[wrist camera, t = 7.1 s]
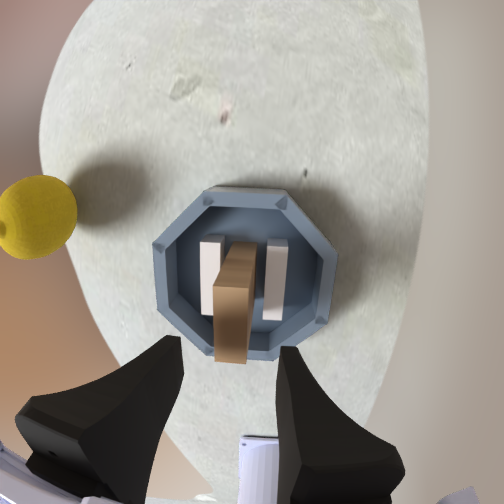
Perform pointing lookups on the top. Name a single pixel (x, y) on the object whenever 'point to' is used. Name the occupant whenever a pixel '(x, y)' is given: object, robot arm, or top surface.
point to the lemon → (36, 216)
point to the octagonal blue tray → (267, 268)
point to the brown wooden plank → (234, 303)
